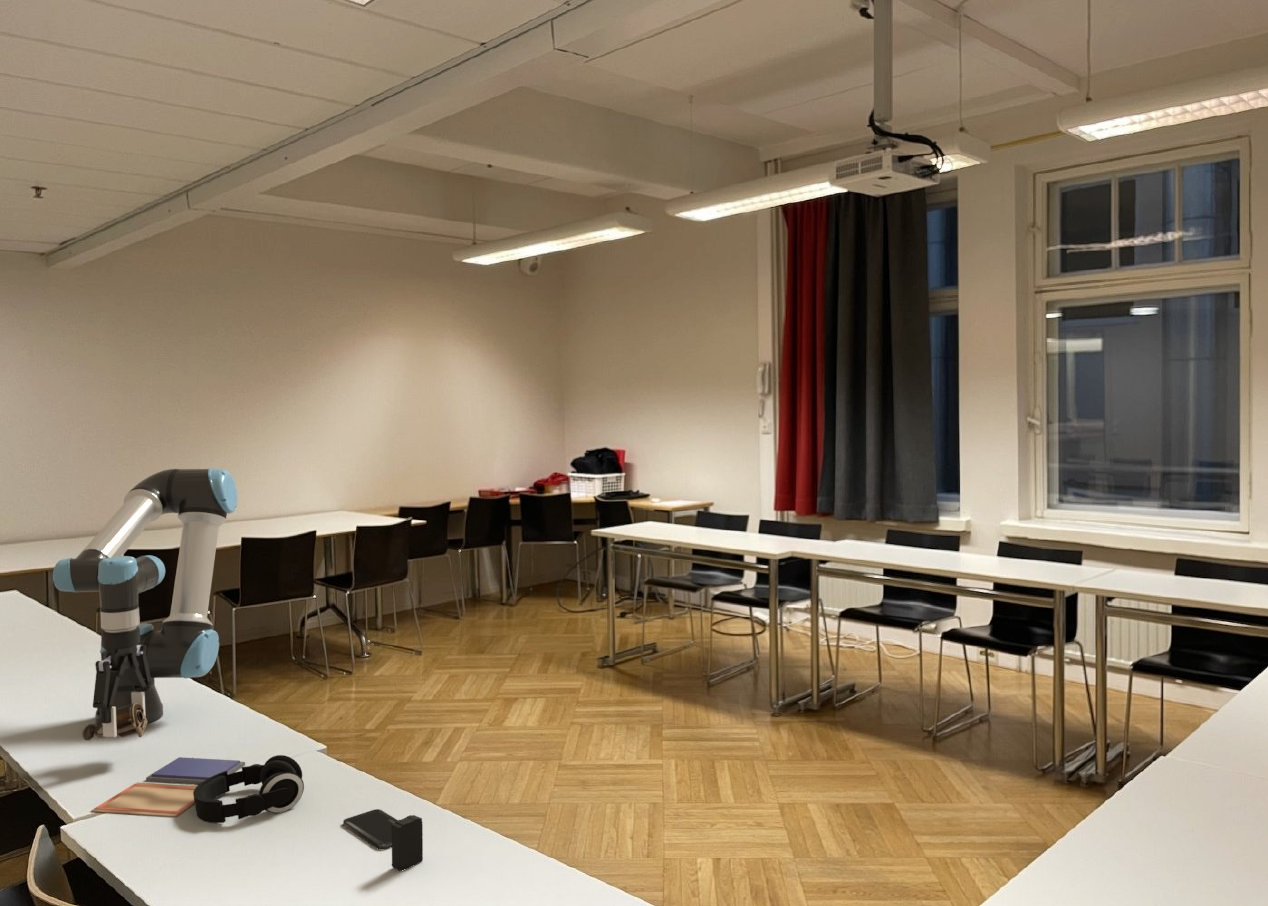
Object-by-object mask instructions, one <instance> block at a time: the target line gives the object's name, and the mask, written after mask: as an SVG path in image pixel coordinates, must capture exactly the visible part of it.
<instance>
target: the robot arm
mask: <svg viewBox="0 0 1268 906" xmlns="http://www.w3.org/2000/svg"><path fill="white" fill-rule="evenodd" d="M237 507H238V490H237V486H236V482H235V480H234V478H233V476H232V474H231V473H230V472H229V471H227V470H226V469H219V468H217V469H216V468H169V469H164V470H162V471H159V472H156V473H153V474H152V475H149V476H148V477H146V478H144V479H143V480H141V481H140V482H138V483H137V484H136V485H135V486H134V487H132V488H131V489H130V490H129V491H128V493H127V494H126V495H125V496H124V499H123V504H122V506H121V507H120V508H119V509H118V510H117V511H116V512H115V513H114V515H113V516H112V517H111V518H110V519H109V520H108V521H107V523H105V524H104V526H103V527H102V529H100V530H99V532H98V533H97V534H96V535H95V536H94V537H93V538H92V539H91V541H90V542H89V543H88V544H87V545H86V546H85V548H83V550H82V551H81V552H80V553H79V554H78V555H77V557H76V558H73V557H69V558H63V559H60V560H59V561H57V563H56V564H55V566H54V568H53V571H52V581H53V584H54V587H55V588H56V589H57V590H58V591H60V592H68V593H75V594H76V593H94V592H95V593H97V592H98V593H99V594H98V595H99V610H100V611H99V612H100V628H101V629H102V630H101V632H100V639H101V641H100V650H99V653H100V660H97V661H95V664H94V665H95V666H94V667H95V682H94V691H93V700H92V707H93V708H94V709H96V711H95V715H94V721H95V723H94V725H95V726H97V725H98V724H99V723H100V722H102V723H103V726H102V727H101V728H102V733H103V737H105V738H116V737H118V734H117V727H116V709H118V708H121V707H124V706H127V705H130V704H133V703H138V704H140V705H141V706H142V708H143V709H144V714H145V717H146V719H147V721H148V722H147V724H149V723H152V722H155V721H157V720H159V719H161V718H162V717H163V716H164V705H163V704H164V703H162V701H161V700H162V699H161V698H160V696H159V693H158V689H157V688H156V683H155V679H165V678H166V679H167V678H168V679H169V678H170V679H172V678H173V679H175V678H176V679H177V678H178V679H179V678H181V679H182V678H183V679H189V678H200V677H204V676H206V675H207V674H208V673H209V672H210V671H211V669H212V668H213V667H214V665H215V663H216V660H217V658H218V654H219V649H220V642H219V641H220V637H219V634H218V632H217V631H216V630H214V629H213V623H212V622H211V620H210V619H209V618H208V613H209V605H210V596H211V590H212V581H213V575H214V567H215V560H216V559H215V558H216V550H217V544H218V538H219V530H220V526H222V525H223V524H224V523H226V521H227V516H228V514H229V515H230V514H232V513H234V512H235V511H236V508H237ZM164 514H165V515H166V514H177V518H178V520H179V521H180V522H181V523H182V529H181V538H180V545H179V551H178V552H179V553H178V558H177V566H176V573H175V579H174V585H173V593H172V599H171V600H172V601H171V602H172V603H171V607H170V614H169V616H168V617H167V618H166V619H164V620H162V624H161V630H154V629H155V627H154V625H153V624H152V623H147V622H145V623H141V621H140V620H141V617H140V606H139V605H140V604H139V594H141V593H143V592H146V591H147V590H148V591H149V590H151V589H154V588H155V587H156V586H158V585H159V584H161V583H162V581H163V580H164V578H165V575H166V567H165V564H164V562H163V560H161V558H158V557H157V556H154V555H149V554H148V555H140V556H138V557H137V558H135V557H133V556H129V555H124V554H125V553H126V552H127V551H128V550H129V549H130V547H131V546H132V544H133V543H135V541H136V540H137V538H138V537H139V536H140V535H141V534H142V532H143V531H144V530H145V529H146V528H147V526H148V525H149V524H150V523H152V522H155V521H157V520H158V519H159V518H161V516H162V515H164Z"/></svg>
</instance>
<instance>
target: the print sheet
mask: <svg viewBox="0 0 1268 906" xmlns="http://www.w3.org/2000/svg"><path fill="white" fill-rule="evenodd" d="M197 786H198V785H189V784H187V785H184V784H174V783H173V784H171V783H151V782H135V783H133V784H131V785H130V786H129V787H126V788H125V789H124V790H122V791H120V792H118V793H117V794H116V795H114V796H112V797H111V798H109V799H107V800H105V801H104V802H103V803H101V804H99V805H98V806H96V807H94V808H93V809H91V810H90V812H91V813H103V814H121V815H132V816H133V815H136V816H147V817H149V816H150V817H151V816H152V817H166V818H177V817H179V816H181V815H182V814H183V813H185V812H186V811H187V810H188V809H190V808H191V807H193V806H195V802H194V796H193V792H194V789H195V788H196V787H197Z"/></svg>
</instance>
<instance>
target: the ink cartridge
mask: <svg viewBox="0 0 1268 906" xmlns="http://www.w3.org/2000/svg"><path fill="white" fill-rule="evenodd" d="M397 820H398V821H396V822H395V823H393V824H391V830H392V847H391V867H392V868H394V869H396V870H398V871H400V872H403V871H402V870H404V869H406V870H408V869H409V867H410V868H412V867H413V865H414V866H416V865H418V864H420V863H422V862H423V859H424V857H423V855H424V853H423V850H424V847H423V845H424V844H423V843H424V842H423V840H424V838H423V836H424V835H423V834H424V833H423V818H422V817H419V816H417V815H416V814H413V815H412V814H411V815H407V816H406V817H404V818H402V819H401V818H400V819H397ZM411 866H412V867H411ZM407 868H408V869H407ZM404 871H405V870H404Z"/></svg>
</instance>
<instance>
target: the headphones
mask: <svg viewBox="0 0 1268 906" xmlns="http://www.w3.org/2000/svg"><path fill="white" fill-rule="evenodd" d="M241 783H242V784H244V787H246V786H250V785H260V784H262V785H261V786H260V788H259V791H258V793H251V794H249V795H248V796H246V797H239V798H235V802H234V803H233V802H232V803H229V804H228V803H227V804H224V803H223V800H222V799H221V800H220V799H217V798H218V797H220V796H222V795H224V794H226V793H229V792H230V791H231V790H230V787H232V786H235V785H239V784H241ZM196 786H197V787H196V788H195V789H194V792H193V796H194V802H195V804H194V807H195V814H196V817H197V818H198V819H199V820H201V821H202V822H206V823H212V824H213V823H215V824H224V823H225V822H227V820H226V819H227V818H232V817H237V819H238V820H241V819H244V818H247V817H255V816H258V815H259V814H261V813H263V812H264V811H265V812H268V813H270V814H275V815H276V814H281V813H285V812H287V811H289V810H291V809H292V808H293V807H295V806H296V805H297V804H298V802H299V801H301V800H300V799H301V798H302V796H303V793H304V790H305V784H304V780H303V771H302V768H301V766H300V764H299V763H298V762H297V760H295V759H294V758H292V757H290V756H288V755H283V754H277V755H274V756H272V757H270V758H268V759H267V760H266V762H265V763H263V764H259V763H254V764H251V765H249V766H243V767H242V768H241V770H240V771H239V770H238V771H236V772H235V773H231V774H228V773H227V771H224V772H221V773H218V774H216V775H214V776H212V777H210V778H208V779H206V780H205V781H203V782H202V783H200V784H198V785H196Z"/></svg>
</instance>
